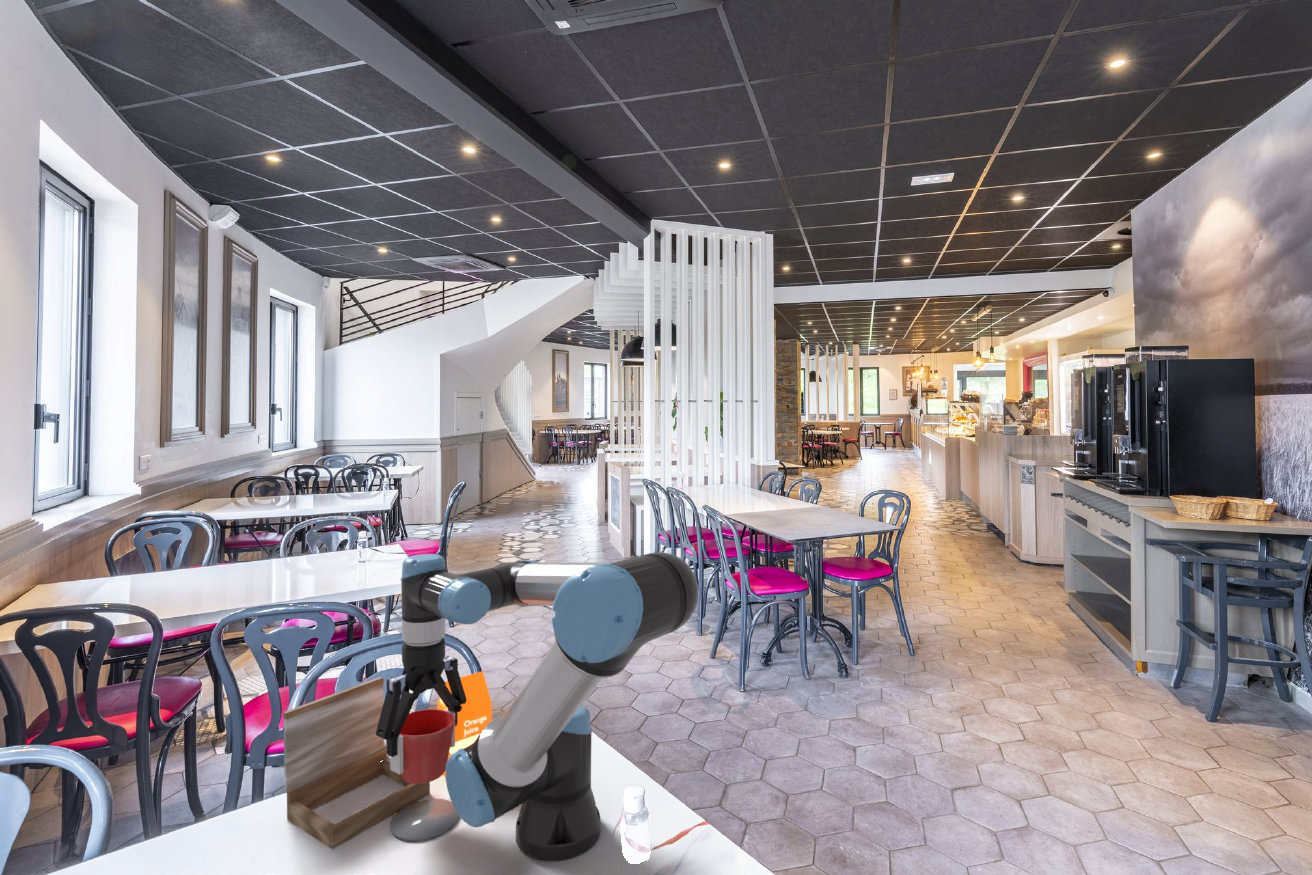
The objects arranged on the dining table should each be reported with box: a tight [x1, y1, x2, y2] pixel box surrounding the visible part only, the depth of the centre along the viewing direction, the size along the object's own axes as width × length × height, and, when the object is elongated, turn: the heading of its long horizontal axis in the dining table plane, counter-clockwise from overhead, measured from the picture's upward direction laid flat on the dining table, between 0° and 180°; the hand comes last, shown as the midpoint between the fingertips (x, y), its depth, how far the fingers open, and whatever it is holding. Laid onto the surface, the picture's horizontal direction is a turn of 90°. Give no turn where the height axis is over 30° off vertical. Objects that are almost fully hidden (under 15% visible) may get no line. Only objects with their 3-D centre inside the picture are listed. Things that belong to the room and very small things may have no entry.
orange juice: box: [436, 670, 493, 778], centre depth 138 cm, size 8×9×20 cm
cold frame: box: [282, 676, 431, 850], centre depth 125 cm, size 17×20×20 cm
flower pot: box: [400, 708, 455, 784], centre depth 120 cm, size 11×11×10 cm
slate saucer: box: [389, 798, 460, 843], centre depth 121 cm, size 12×12×1 cm
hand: (423, 757), depth 120 cm, fingers closed on flower pot, 11 cm apart
